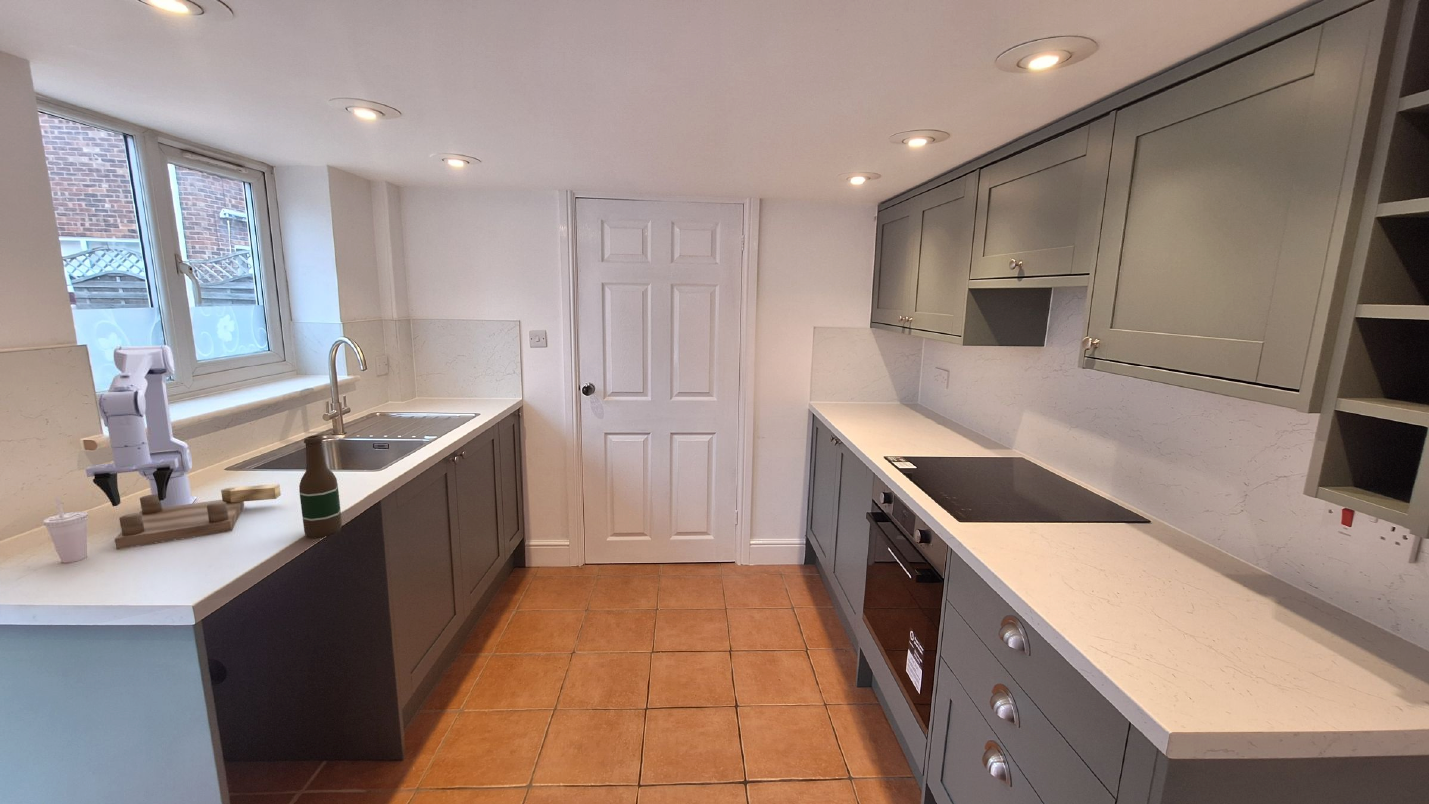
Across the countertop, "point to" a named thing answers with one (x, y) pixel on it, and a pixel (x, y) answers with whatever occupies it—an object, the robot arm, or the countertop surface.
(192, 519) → the stool seat
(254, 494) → the oak leg
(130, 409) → the robot arm
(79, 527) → the smoothie
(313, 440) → the beer bottle
